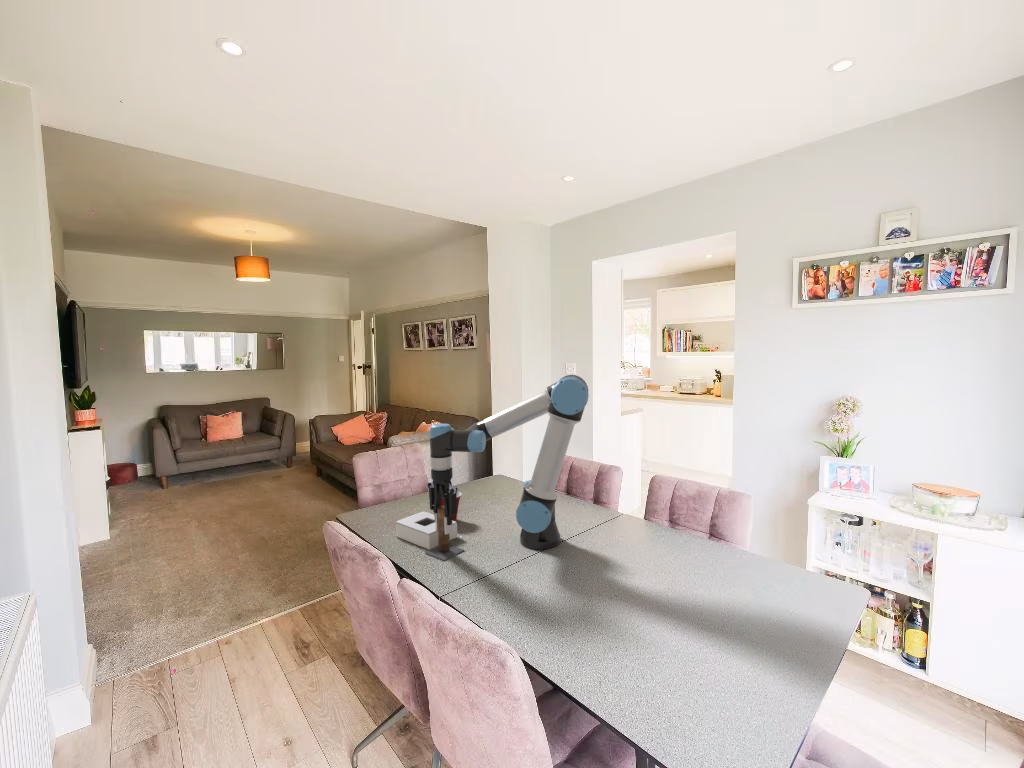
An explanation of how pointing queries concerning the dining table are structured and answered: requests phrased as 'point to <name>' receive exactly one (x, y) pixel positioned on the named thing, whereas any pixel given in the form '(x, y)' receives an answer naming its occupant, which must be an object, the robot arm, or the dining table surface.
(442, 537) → the wooden rod
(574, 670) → the dining table surface
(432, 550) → the pad
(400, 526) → the box
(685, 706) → the dining table surface
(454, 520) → the plastic cup
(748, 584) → the dining table surface
